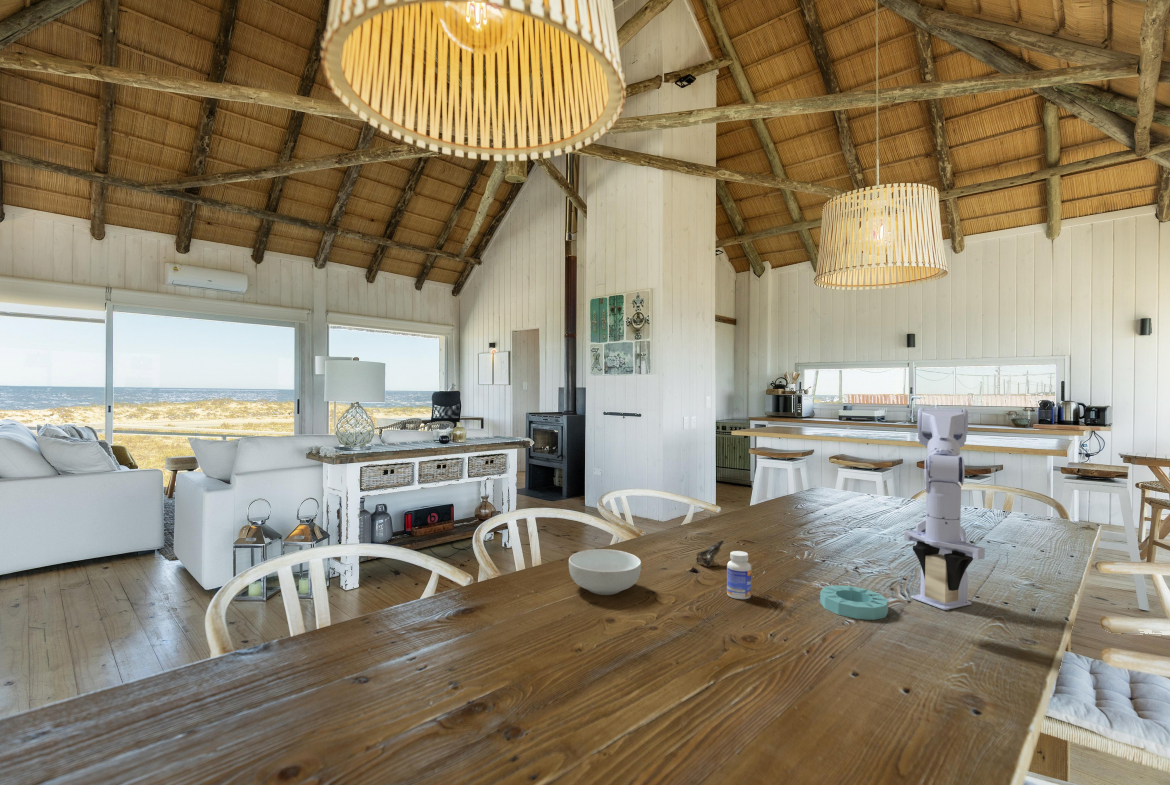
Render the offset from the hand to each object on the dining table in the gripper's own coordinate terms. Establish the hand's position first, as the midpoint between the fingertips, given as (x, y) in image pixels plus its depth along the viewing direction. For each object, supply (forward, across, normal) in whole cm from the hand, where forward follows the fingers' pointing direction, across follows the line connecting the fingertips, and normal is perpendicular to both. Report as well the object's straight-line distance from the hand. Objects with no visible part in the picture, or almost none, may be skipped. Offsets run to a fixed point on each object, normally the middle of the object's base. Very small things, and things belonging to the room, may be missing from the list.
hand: (941, 585), depth 110 cm
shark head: (+10, -52, -16) cm, 55 cm away
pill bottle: (+10, -31, -24) cm, 40 cm away
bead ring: (+9, -16, -5) cm, 19 cm away
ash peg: (+2, 0, 0) cm, 2 cm away
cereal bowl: (+10, -46, -51) cm, 69 cm away
